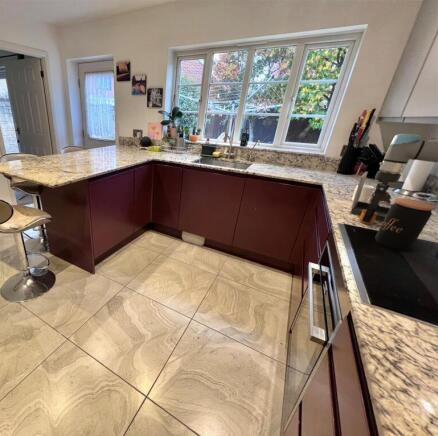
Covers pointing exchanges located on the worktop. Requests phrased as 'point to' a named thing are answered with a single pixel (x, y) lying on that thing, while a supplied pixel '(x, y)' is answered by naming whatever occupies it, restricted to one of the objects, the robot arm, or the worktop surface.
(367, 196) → the white cup
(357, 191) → the brew lid
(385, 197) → the pottery mug
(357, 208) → the drip tray
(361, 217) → the coffee pod
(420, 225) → the coffee jar
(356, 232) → the worktop surface
